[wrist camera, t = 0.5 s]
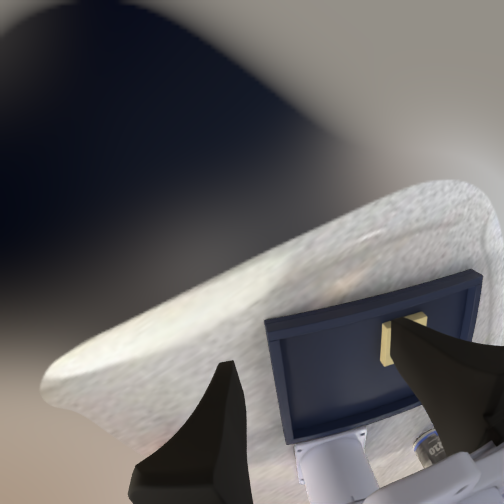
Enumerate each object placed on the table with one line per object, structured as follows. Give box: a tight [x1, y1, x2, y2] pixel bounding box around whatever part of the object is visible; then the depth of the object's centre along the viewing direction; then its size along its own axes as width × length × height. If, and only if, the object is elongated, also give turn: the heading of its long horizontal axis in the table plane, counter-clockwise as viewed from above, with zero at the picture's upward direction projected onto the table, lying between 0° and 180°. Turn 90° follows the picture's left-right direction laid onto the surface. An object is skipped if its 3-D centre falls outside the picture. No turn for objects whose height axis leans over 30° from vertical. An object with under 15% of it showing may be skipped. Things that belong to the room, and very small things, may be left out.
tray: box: [264, 269, 483, 445], centre depth 24 cm, size 14×20×2 cm
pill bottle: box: [413, 429, 447, 469], centre depth 27 cm, size 5×5×8 cm
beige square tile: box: [380, 311, 427, 367], centre depth 23 cm, size 4×4×1 cm
